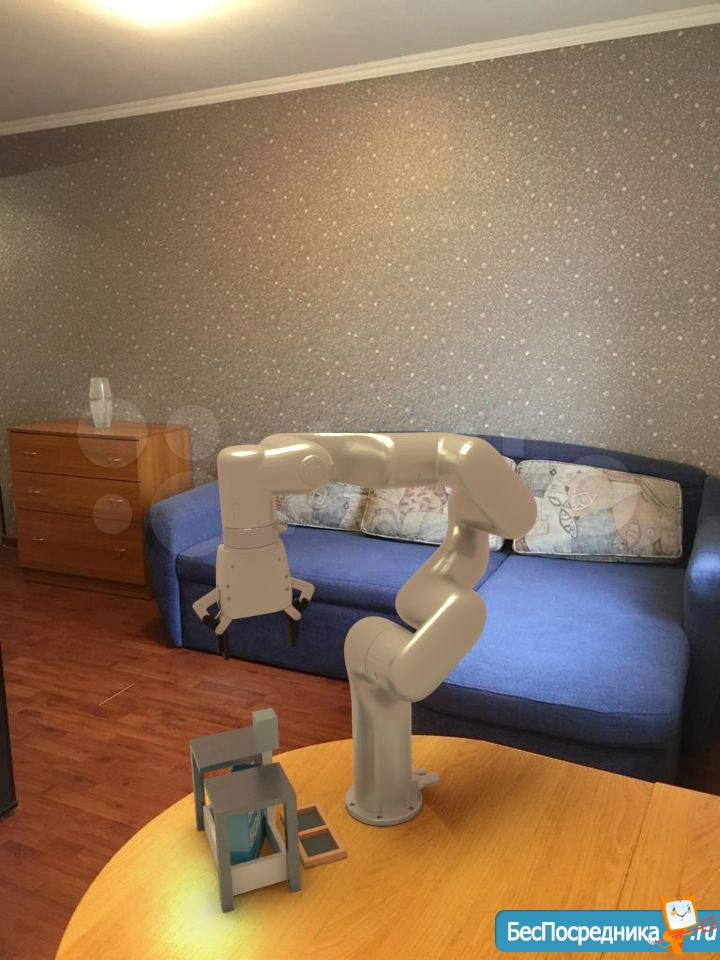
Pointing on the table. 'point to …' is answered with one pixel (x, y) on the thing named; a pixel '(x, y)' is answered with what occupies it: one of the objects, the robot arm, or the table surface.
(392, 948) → the table surface
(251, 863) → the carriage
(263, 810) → the data package
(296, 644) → the robot arm
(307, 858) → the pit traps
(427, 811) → the table surface
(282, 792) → the tunnel
